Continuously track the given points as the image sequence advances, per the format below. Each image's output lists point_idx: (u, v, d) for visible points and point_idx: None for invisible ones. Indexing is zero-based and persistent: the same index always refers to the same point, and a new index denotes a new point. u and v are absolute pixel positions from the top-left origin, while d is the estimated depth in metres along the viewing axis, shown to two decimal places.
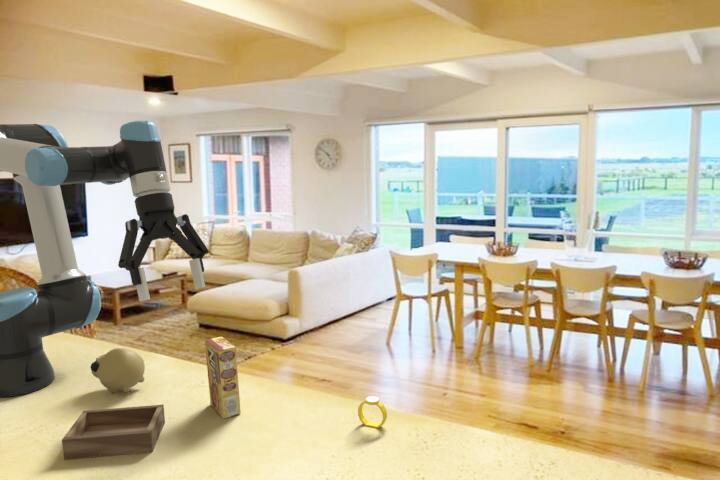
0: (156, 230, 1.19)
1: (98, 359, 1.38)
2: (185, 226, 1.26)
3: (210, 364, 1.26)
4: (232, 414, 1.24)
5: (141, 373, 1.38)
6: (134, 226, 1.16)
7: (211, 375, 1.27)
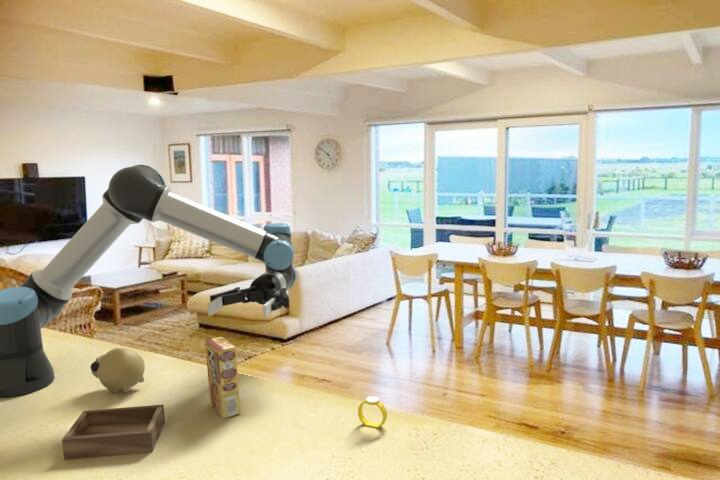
0: None
1: (98, 359, 1.38)
2: None
3: (210, 364, 1.26)
4: (232, 414, 1.24)
5: (141, 373, 1.38)
6: None
7: (211, 375, 1.27)
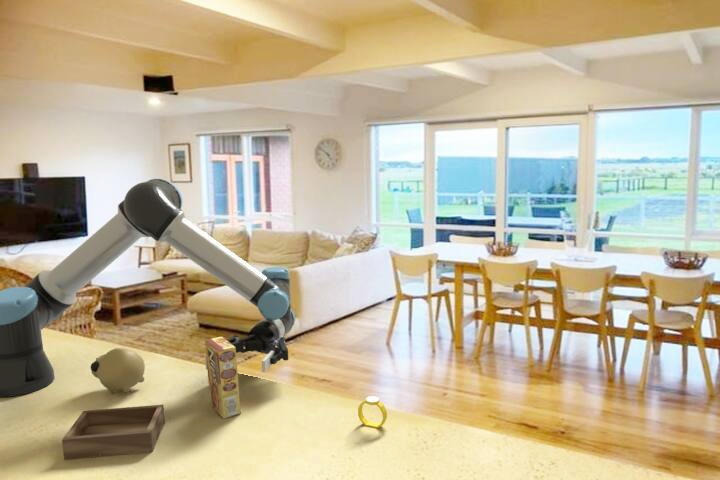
0: None
1: (98, 359, 1.38)
2: None
3: (210, 364, 1.26)
4: (232, 414, 1.24)
5: (141, 373, 1.38)
6: None
7: (211, 375, 1.27)
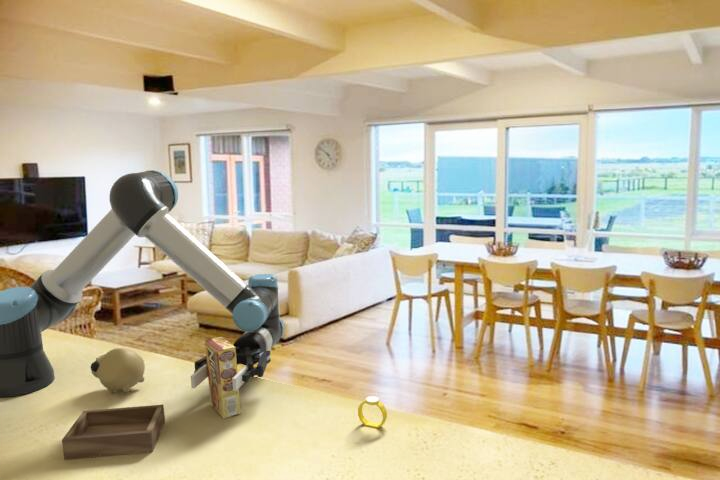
0: None
1: (98, 359, 1.38)
2: None
3: (210, 364, 1.26)
4: (232, 414, 1.24)
5: (141, 373, 1.38)
6: None
7: (211, 375, 1.27)
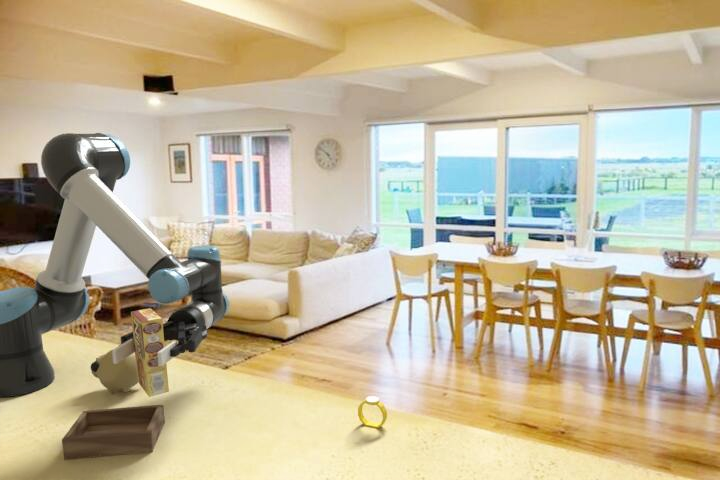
0: None
1: (98, 359, 1.38)
2: None
3: (136, 338, 1.15)
4: (159, 392, 1.13)
5: None
6: None
7: (137, 350, 1.15)
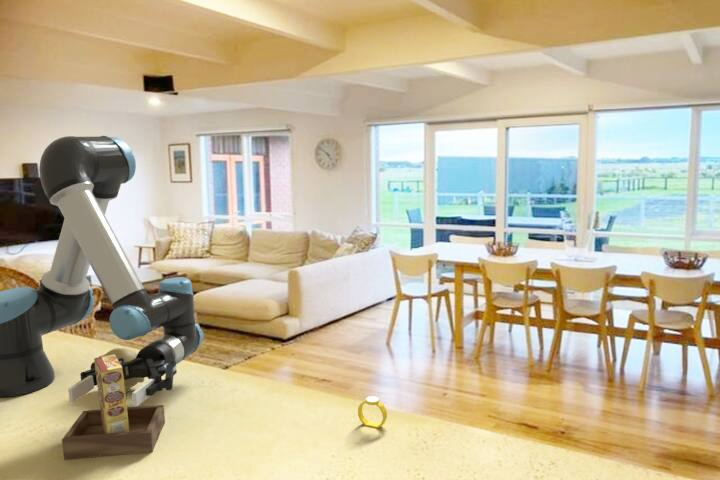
0: None
1: None
2: None
3: (98, 385, 1.14)
4: None
5: None
6: None
7: (99, 397, 1.14)
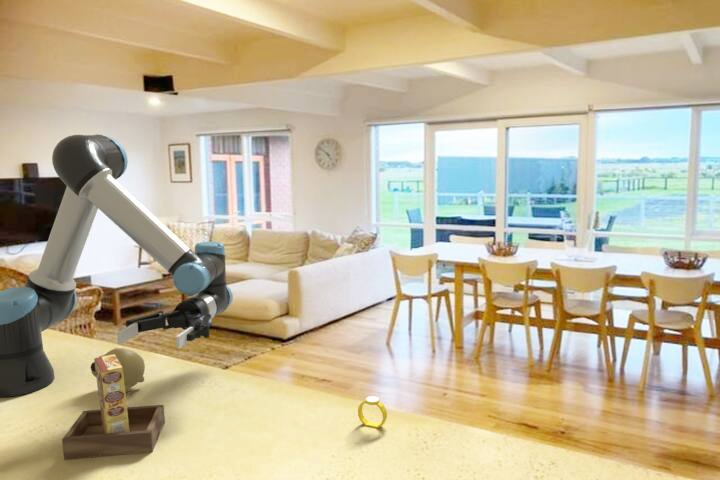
0: None
1: None
2: None
3: (98, 385, 1.14)
4: None
5: (141, 373, 1.38)
6: None
7: (99, 397, 1.14)
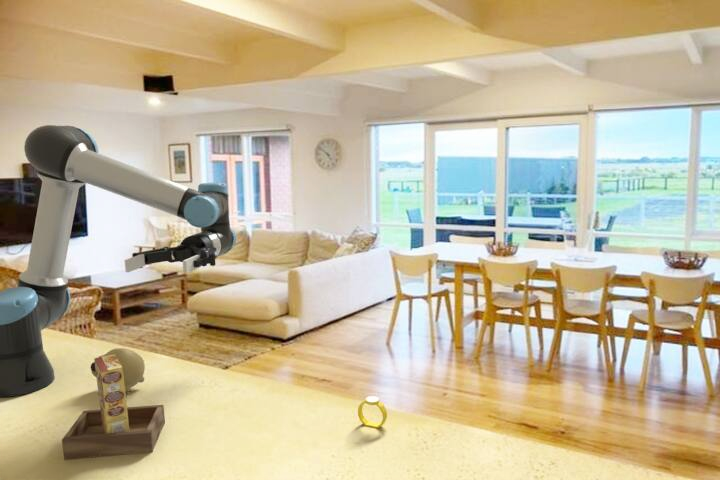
0: None
1: None
2: None
3: (98, 385, 1.14)
4: None
5: (141, 373, 1.38)
6: None
7: (99, 397, 1.14)
